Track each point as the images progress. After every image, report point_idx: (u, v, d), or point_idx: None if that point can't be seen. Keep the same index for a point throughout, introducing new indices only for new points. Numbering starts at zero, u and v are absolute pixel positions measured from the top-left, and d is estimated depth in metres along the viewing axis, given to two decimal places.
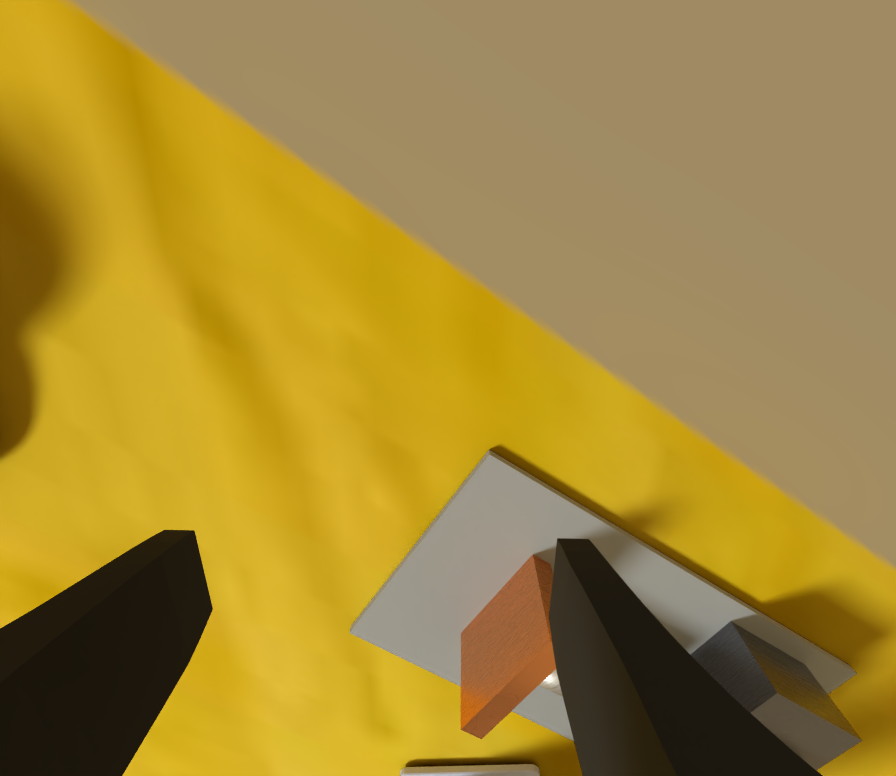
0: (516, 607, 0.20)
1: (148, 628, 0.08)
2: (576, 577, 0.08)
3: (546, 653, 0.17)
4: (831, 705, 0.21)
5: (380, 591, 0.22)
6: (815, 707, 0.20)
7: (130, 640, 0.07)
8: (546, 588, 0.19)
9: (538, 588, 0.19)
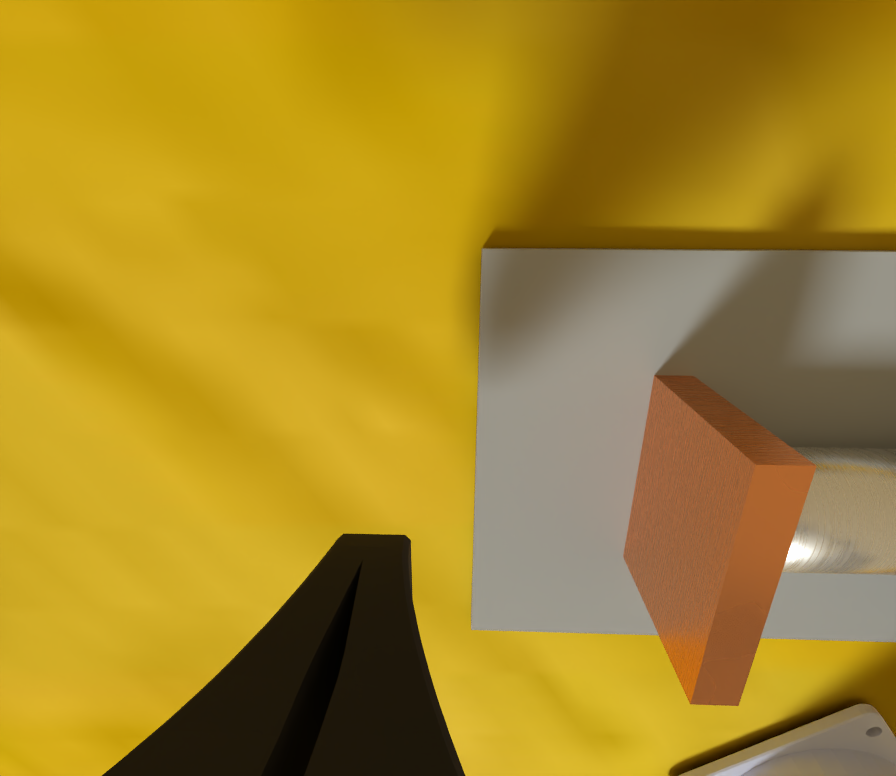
0: (671, 463, 0.11)
1: None
2: (360, 572, 0.08)
3: (761, 492, 0.08)
4: None
5: (473, 552, 0.14)
6: None
7: None
8: (702, 402, 0.10)
9: (687, 408, 0.10)
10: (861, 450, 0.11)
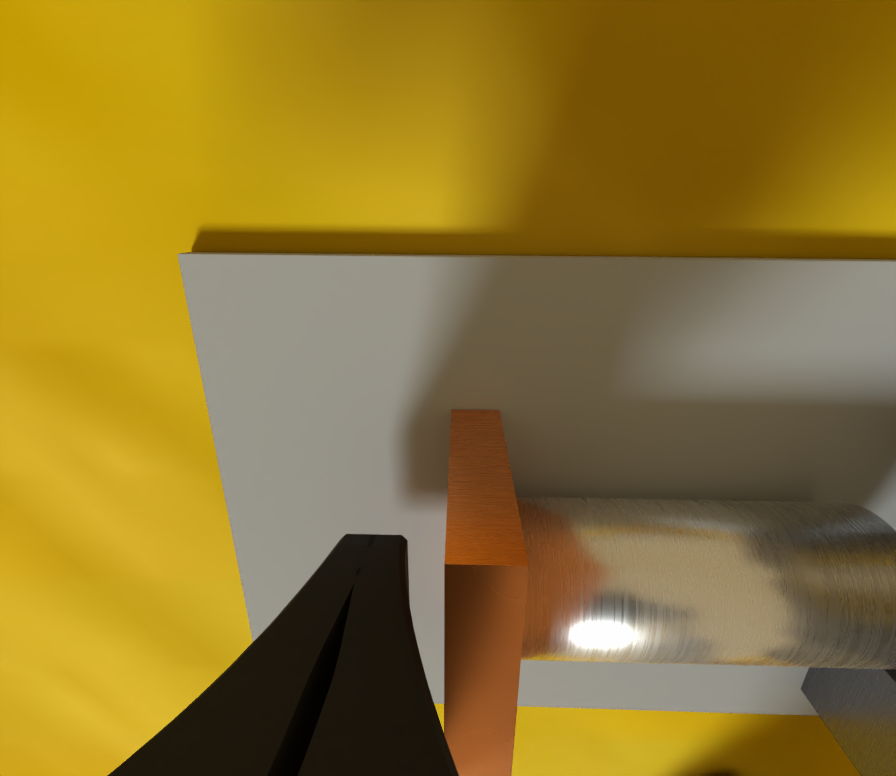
0: None
1: None
2: (357, 572, 0.08)
3: (461, 598, 0.06)
4: None
5: (250, 612, 0.12)
6: None
7: None
8: (471, 451, 0.08)
9: (449, 460, 0.08)
10: (694, 505, 0.09)
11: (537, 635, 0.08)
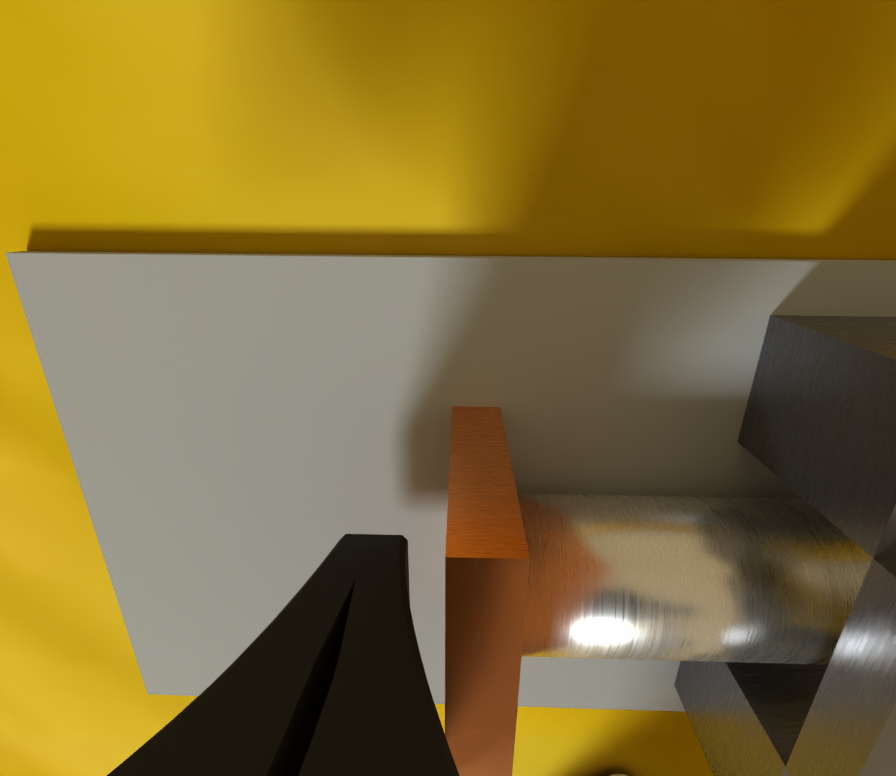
0: None
1: None
2: (357, 572, 0.08)
3: (463, 592, 0.06)
4: None
5: (124, 608, 0.12)
6: None
7: None
8: (472, 447, 0.08)
9: (450, 455, 0.08)
10: (695, 502, 0.09)
11: (538, 631, 0.08)
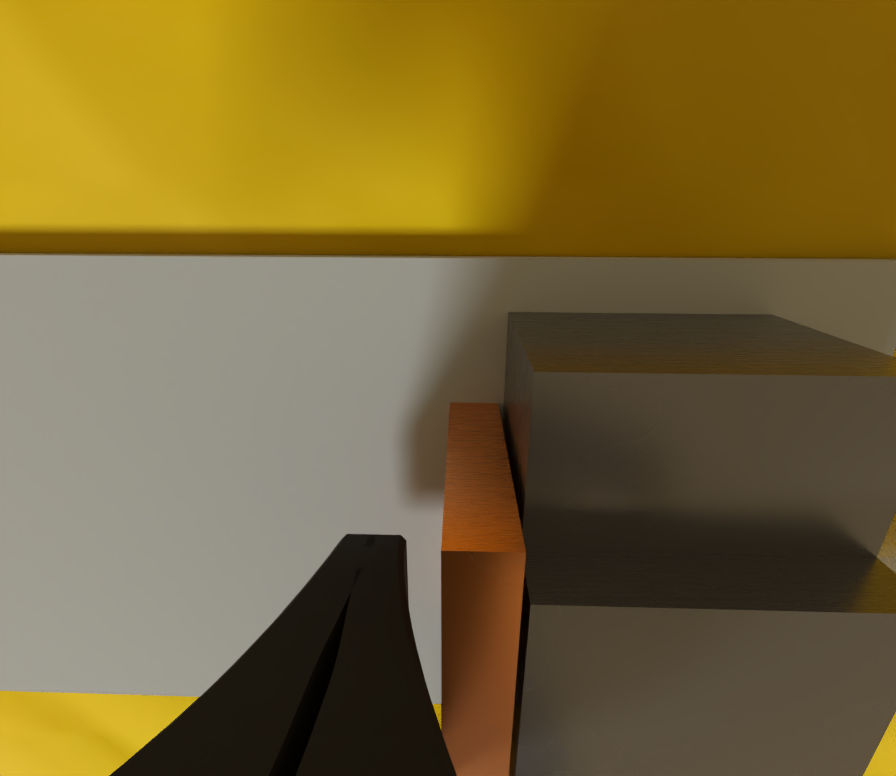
0: None
1: None
2: (356, 572, 0.08)
3: (459, 586, 0.06)
4: (832, 346, 0.07)
5: None
6: (733, 363, 0.06)
7: None
8: (469, 443, 0.08)
9: (447, 451, 0.08)
10: None
11: None
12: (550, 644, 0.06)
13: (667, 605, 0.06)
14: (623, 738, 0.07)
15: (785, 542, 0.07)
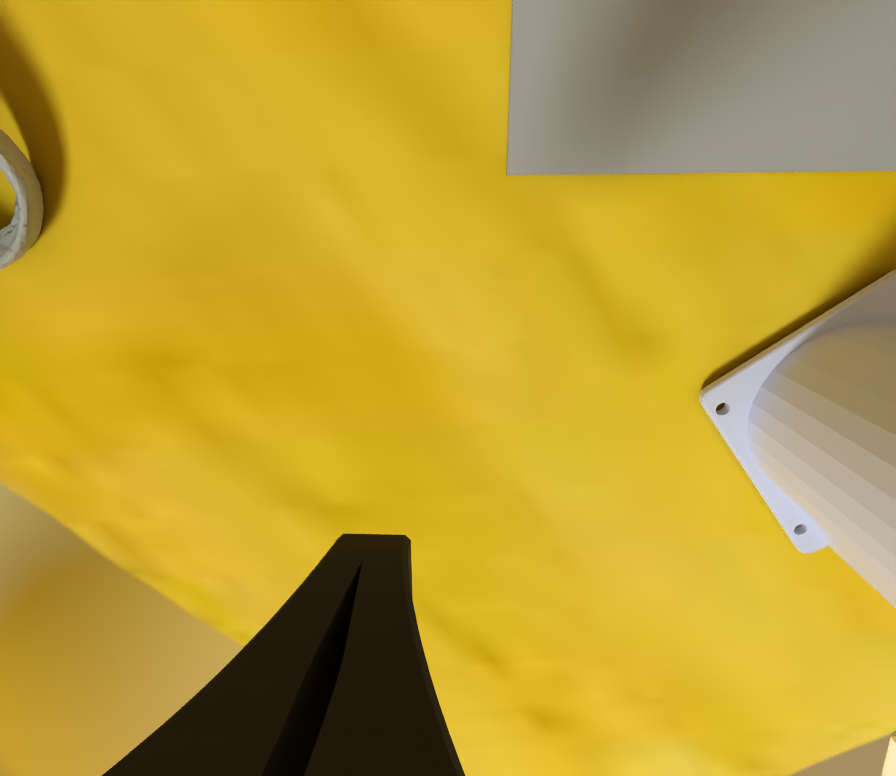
0: None
1: None
2: (361, 572, 0.08)
3: None
4: None
5: (510, 66, 0.14)
6: None
7: None
8: None
9: None
10: None
11: None
12: None
13: None
14: None
15: None
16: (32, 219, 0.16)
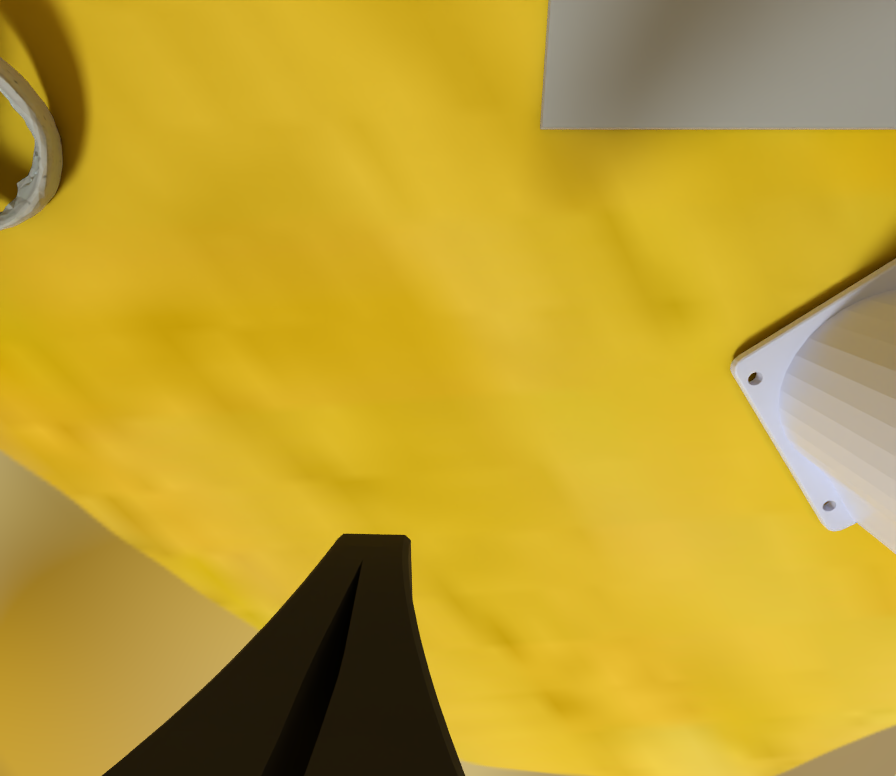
0: None
1: None
2: (361, 572, 0.08)
3: None
4: None
5: (549, 11, 0.14)
6: None
7: None
8: None
9: None
10: None
11: None
12: None
13: None
14: None
15: None
16: (51, 170, 0.15)
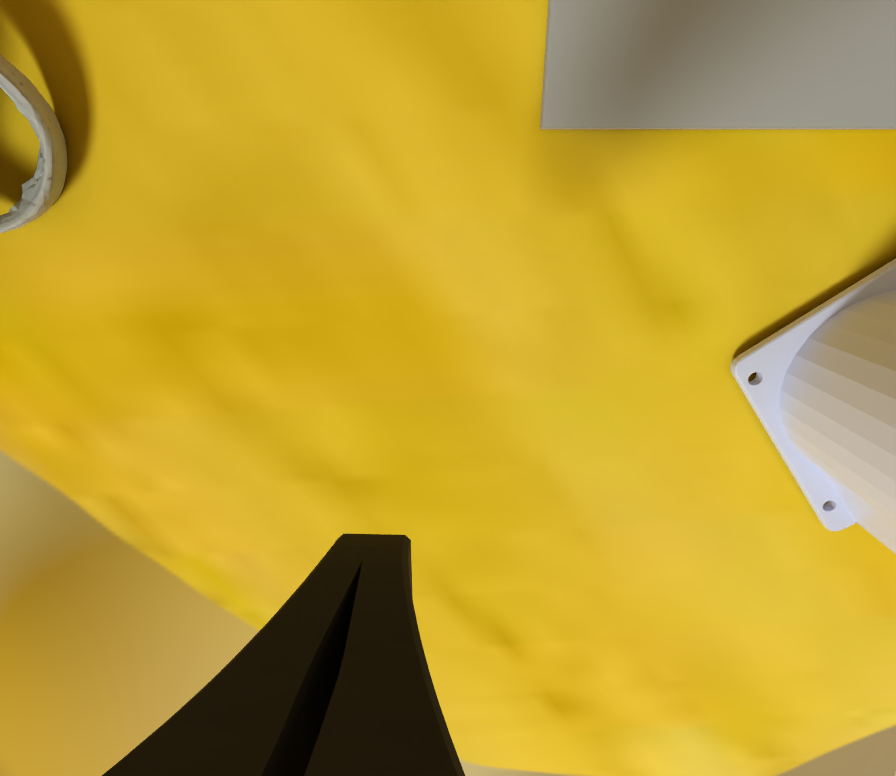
0: None
1: None
2: (361, 572, 0.08)
3: None
4: None
5: (549, 11, 0.14)
6: None
7: None
8: None
9: None
10: None
11: None
12: None
13: None
14: None
15: None
16: (56, 172, 0.15)
